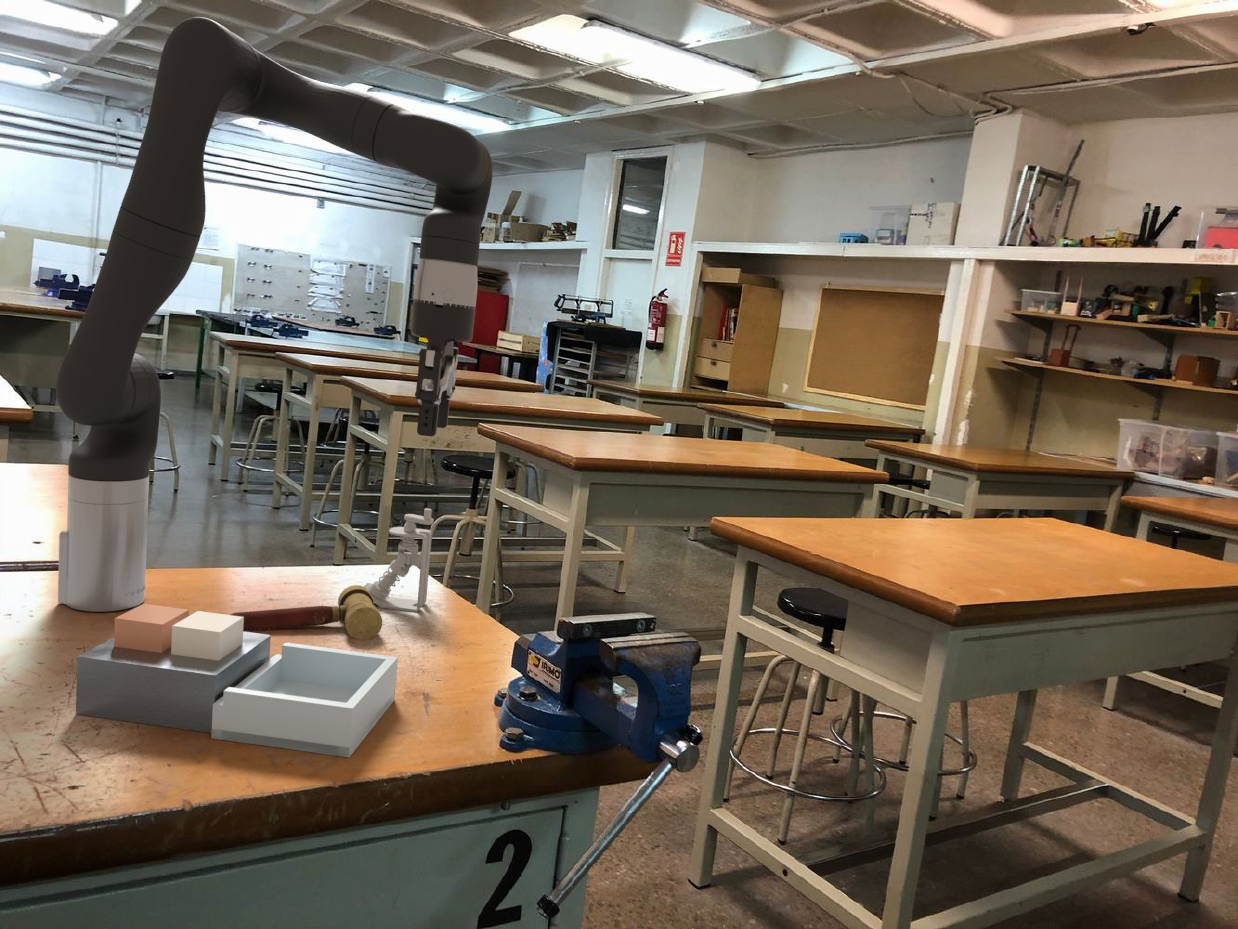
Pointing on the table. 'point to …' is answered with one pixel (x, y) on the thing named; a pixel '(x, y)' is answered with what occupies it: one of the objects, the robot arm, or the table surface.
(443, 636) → the table surface
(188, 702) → the grey metallic box
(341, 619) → the gavel
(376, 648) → the table surface
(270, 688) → the box
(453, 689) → the table surface
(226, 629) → the tile cream
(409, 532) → the clamp
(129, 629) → the tile terracotta
